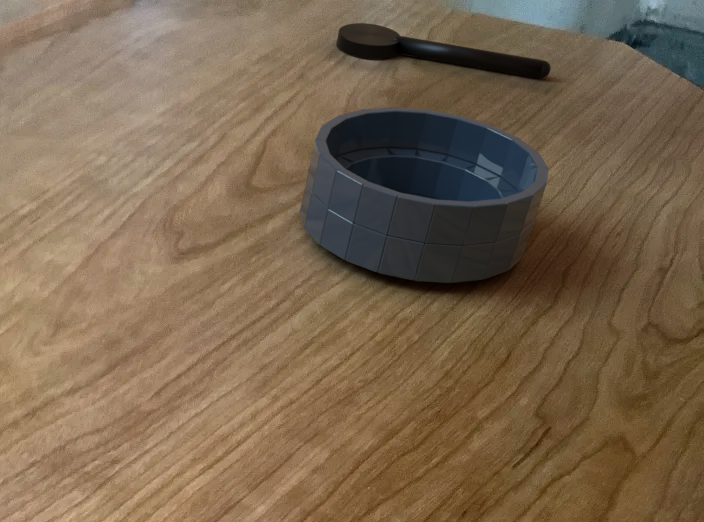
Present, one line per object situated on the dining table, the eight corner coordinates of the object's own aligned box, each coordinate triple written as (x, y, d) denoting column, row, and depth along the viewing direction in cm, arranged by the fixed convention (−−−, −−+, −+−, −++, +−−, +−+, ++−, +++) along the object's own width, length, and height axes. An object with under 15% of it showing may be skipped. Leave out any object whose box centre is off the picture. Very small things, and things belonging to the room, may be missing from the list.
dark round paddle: (549, 68, 99) (554, 51, 98) (545, 90, 96) (551, 73, 95) (341, 32, 102) (345, 16, 102) (331, 52, 99) (334, 36, 98)
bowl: (404, 172, 85) (424, 92, 81) (566, 258, 77) (596, 174, 74) (253, 216, 79) (269, 132, 76) (413, 314, 72) (437, 226, 68)
